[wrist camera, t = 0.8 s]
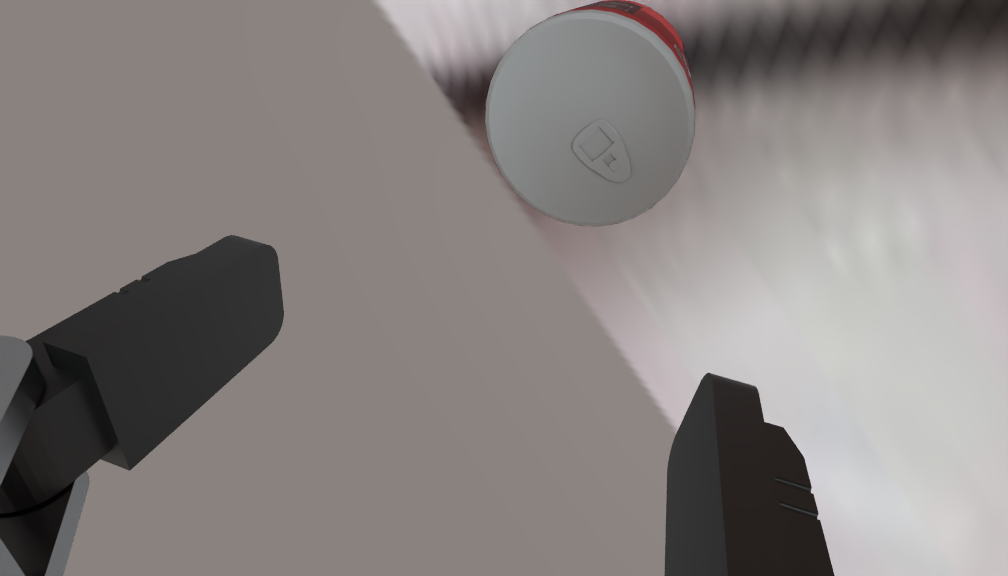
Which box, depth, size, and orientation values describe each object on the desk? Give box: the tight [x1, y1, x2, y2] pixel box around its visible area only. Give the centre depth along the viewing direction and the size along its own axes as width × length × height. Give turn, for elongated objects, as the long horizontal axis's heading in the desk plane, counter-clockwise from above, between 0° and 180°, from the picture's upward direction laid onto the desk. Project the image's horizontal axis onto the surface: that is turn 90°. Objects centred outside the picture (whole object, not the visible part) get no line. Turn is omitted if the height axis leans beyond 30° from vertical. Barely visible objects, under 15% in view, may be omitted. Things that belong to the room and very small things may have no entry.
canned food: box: [485, 0, 695, 226], centre depth 24 cm, size 8×8×11 cm
